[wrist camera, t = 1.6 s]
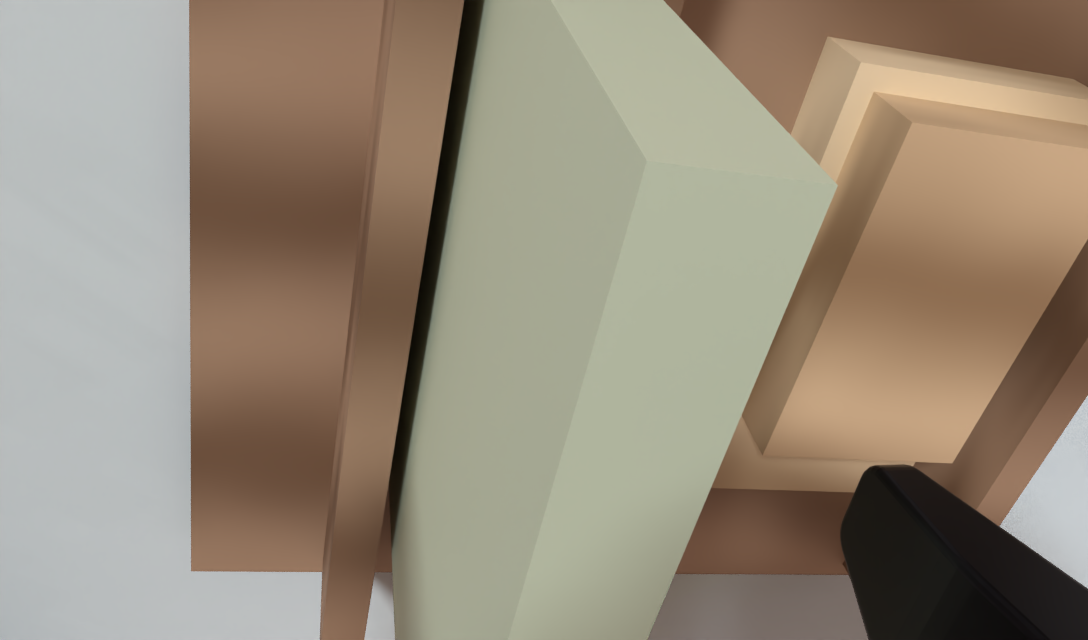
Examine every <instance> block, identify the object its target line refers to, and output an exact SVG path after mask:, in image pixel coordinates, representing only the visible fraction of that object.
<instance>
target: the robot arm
mask: <svg viewBox="0 0 1088 640" xmlns="http://www.w3.org/2000/svg"><path fill="white" fill-rule="evenodd" d="M840 541H841V547H842V551H843V555H844V558H845V561H846V565H847V568H848V572H849V575H850V578H851V582H852V585H853V588H854V592H855V595H856V599H857V602H858V605H859V609H860V612H861V615H862V619H863V622H864V626H865V629H866V632H867V636H868V639H869V640H1088V589H1087V588H1086V587H1084V586H1083V585H1082V584H1080V583H1079V582H1077V581H1076V580H1075V579H1073V578H1072V577H1070V576H1069V575H1067V574H1066V573H1065V572H1063V571H1062V570H1060V569H1059V568H1058V567H1056V566H1055V565H1053V564H1052V563H1050V562H1049V561H1048V560H1046V559H1045V558H1043V557H1042V556H1041V555H1039V554H1038V553H1036V552H1035V551H1033V550H1032V549H1031V548H1029V547H1028V546H1026V545H1025V544H1024V543H1022V542H1021V541H1019V540H1018V539H1016V538H1015V537H1014V536H1012V535H1011V534H1009V533H1008V532H1007V531H1005V530H1004V529H1002V528H1001V527H999V526H998V525H997V524H995V523H994V522H992V521H991V520H989V519H988V518H987V517H985V516H984V515H982V514H981V513H980V512H978V511H977V510H975V509H974V508H972V507H971V506H970V505H968V504H967V503H965V502H964V501H963V500H961V499H960V498H958V497H957V496H955V495H954V494H953V493H951V492H950V491H948V490H947V489H946V488H944V487H943V486H941V485H940V484H938V483H937V482H936V481H934V480H933V479H931V478H930V477H929V476H927V475H926V474H924V473H923V472H921V471H920V470H918V469H917V468H915V467H913V466H911V465H905V464H897V465H874V466H870V467H869V468H868V469H867V470H866V471H864V473H863V474H862V476H861V478H860V481H859V483H858V485H857V488H856V490H855V492H854V495H853V497H852V499H851V502H850V504H849V506H848V508H847V511H846V513H845V515H844V518H843V520H842V523H841V529H840Z"/></svg>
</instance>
